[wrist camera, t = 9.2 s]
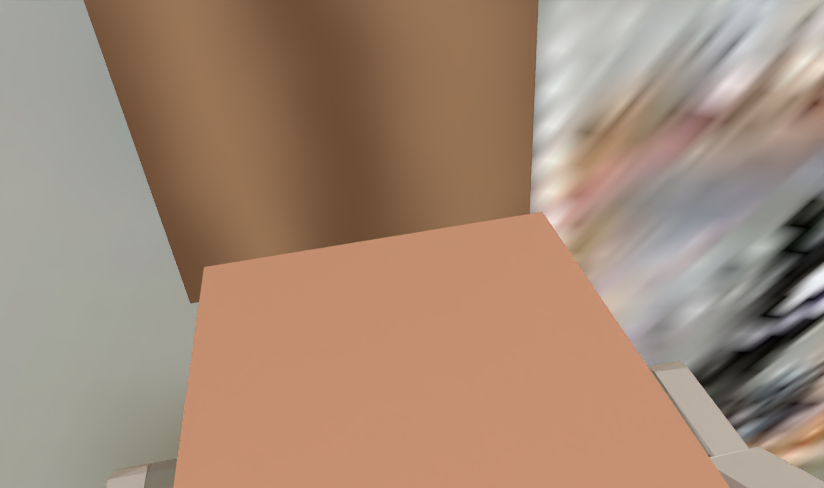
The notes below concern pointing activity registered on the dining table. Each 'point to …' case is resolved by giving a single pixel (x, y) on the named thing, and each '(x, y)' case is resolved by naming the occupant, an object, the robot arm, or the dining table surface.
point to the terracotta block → (425, 372)
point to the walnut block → (322, 118)
